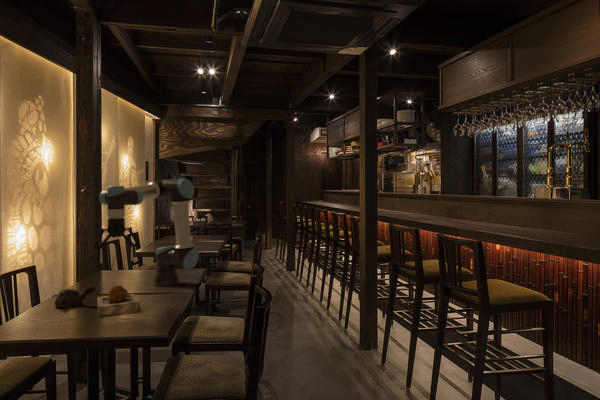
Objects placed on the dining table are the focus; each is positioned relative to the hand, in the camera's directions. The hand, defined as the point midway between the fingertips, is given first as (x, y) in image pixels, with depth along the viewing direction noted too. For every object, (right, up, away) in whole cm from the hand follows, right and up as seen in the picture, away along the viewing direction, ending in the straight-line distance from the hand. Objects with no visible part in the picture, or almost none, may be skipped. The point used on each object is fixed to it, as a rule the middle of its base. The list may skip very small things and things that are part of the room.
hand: (117, 261), depth 199 cm
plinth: (0, -23, 0) cm, 23 cm away
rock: (0, -20, +1) cm, 20 cm away
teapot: (-23, -23, +5) cm, 33 cm away
